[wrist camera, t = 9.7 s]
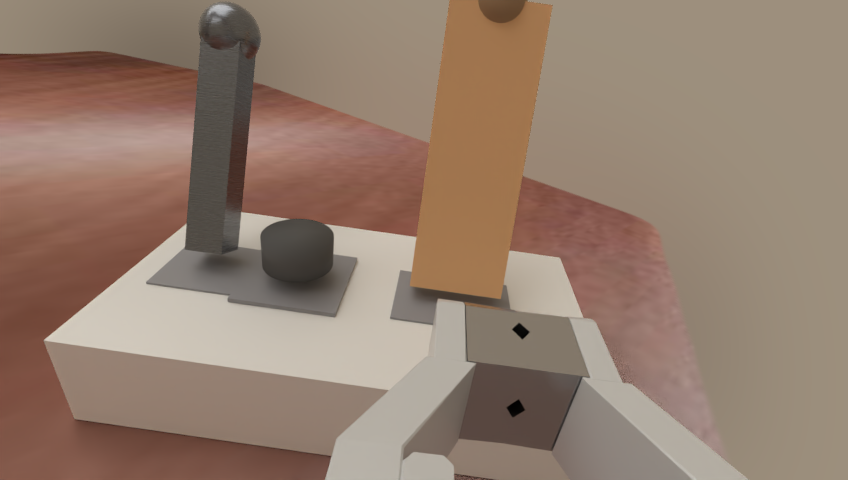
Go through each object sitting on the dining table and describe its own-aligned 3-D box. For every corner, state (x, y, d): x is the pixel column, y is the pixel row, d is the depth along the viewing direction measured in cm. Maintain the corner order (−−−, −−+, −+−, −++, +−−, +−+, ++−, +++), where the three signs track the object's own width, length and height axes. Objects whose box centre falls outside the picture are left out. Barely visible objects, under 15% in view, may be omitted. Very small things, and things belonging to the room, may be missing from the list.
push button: (250, 276, 18) (248, 247, 17) (277, 241, 21) (275, 214, 20) (322, 287, 18) (323, 258, 17) (340, 250, 21) (341, 224, 20)
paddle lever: (409, 289, 18) (455, -47, 16) (411, 276, 21) (453, -21, 19) (502, 302, 18) (561, -32, 16) (495, 288, 21) (546, -8, 19)
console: (74, 419, 17) (41, 336, 15) (214, 266, 26) (206, 203, 24) (589, 493, 17) (627, 420, 15) (541, 313, 26) (560, 254, 24)
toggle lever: (170, 249, 18) (188, -13, 17) (200, 242, 21) (218, 11, 20) (226, 257, 18) (249, -5, 17) (249, 249, 21) (271, 19, 20)
